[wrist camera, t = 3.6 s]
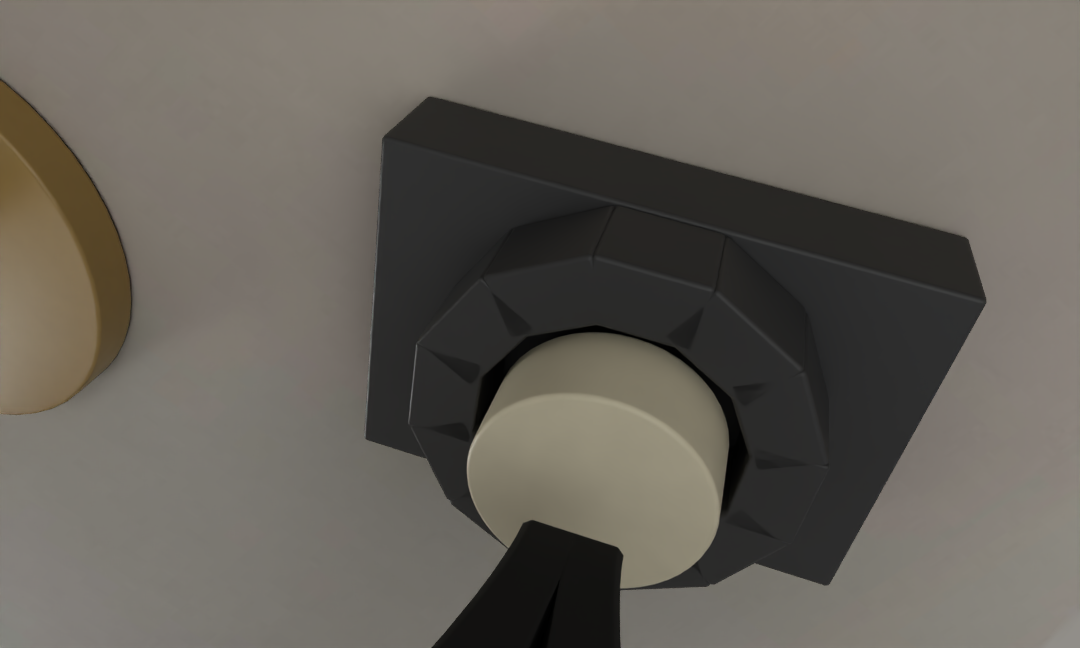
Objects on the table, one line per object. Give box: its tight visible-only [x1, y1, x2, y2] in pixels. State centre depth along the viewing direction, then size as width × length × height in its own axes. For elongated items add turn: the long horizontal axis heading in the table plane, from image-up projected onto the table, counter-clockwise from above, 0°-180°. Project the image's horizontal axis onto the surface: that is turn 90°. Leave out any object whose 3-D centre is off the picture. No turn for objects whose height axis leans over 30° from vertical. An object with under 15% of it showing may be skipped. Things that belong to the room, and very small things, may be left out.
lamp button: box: [467, 332, 729, 588], centre depth 14 cm, size 4×4×2 cm
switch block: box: [364, 97, 986, 590], centre depth 16 cm, size 10×7×4 cm
